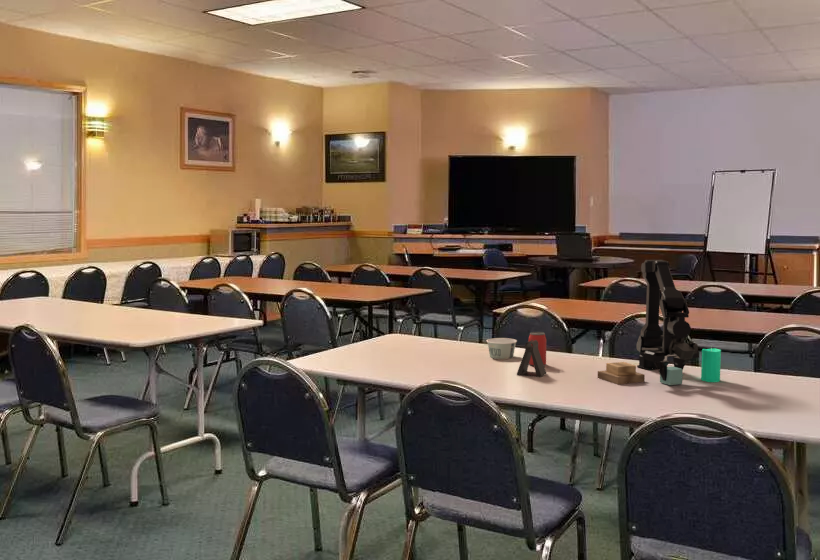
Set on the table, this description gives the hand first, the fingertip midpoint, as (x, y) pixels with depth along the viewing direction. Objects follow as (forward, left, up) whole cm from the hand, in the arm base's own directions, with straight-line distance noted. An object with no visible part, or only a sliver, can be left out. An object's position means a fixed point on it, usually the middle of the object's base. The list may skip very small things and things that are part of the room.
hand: (670, 379), depth 261 cm
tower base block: (+11, -12, -2) cm, 16 cm away
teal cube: (0, 0, -1) cm, 1 cm away
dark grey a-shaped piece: (+34, -32, -2) cm, 47 cm away
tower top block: (+11, -12, +1) cm, 16 cm away
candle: (-16, +1, -2) cm, 16 cm away
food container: (+27, -66, -2) cm, 71 cm away
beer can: (+23, -46, -2) cm, 51 cm away
